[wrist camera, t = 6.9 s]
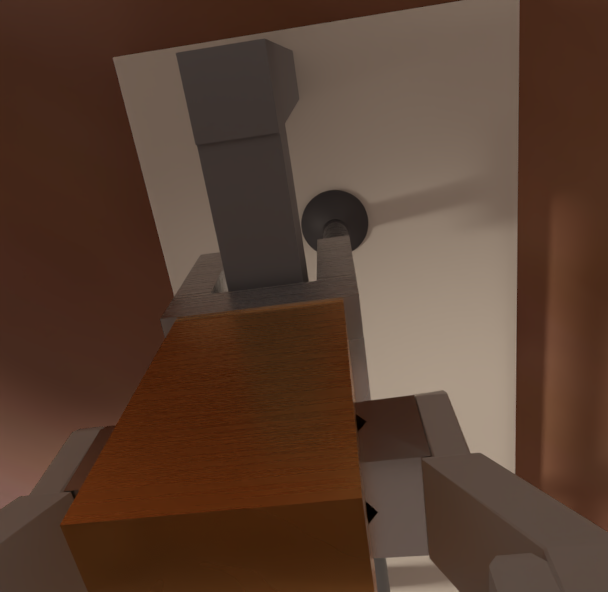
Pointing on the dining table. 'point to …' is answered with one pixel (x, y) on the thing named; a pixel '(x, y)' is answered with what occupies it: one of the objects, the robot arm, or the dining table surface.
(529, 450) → the dining table surface
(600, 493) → the dining table surface
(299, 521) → the leg
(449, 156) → the hole plate
